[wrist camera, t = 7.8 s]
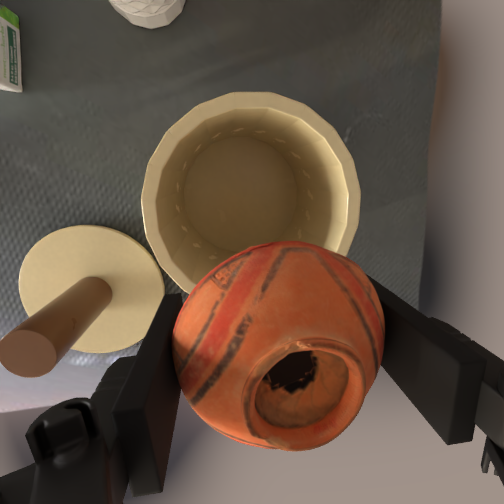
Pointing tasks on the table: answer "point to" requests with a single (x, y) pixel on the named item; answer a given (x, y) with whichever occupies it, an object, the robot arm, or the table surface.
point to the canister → (247, 184)
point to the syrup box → (9, 51)
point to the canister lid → (81, 298)
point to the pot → (280, 345)
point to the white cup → (149, 11)
